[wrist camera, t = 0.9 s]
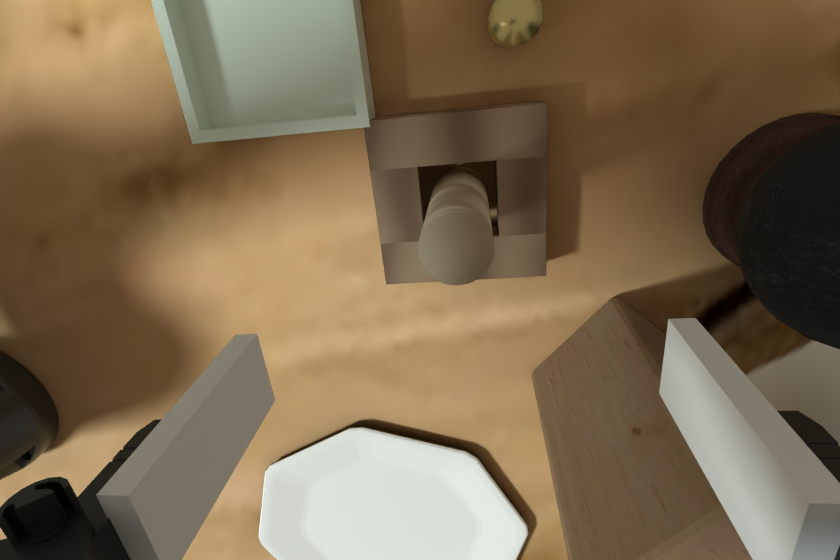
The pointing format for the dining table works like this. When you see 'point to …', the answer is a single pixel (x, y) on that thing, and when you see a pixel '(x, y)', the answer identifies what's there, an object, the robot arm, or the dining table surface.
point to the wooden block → (624, 450)
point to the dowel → (457, 229)
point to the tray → (267, 66)
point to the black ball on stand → (784, 220)
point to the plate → (386, 502)
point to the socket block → (451, 144)
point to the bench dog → (514, 21)
